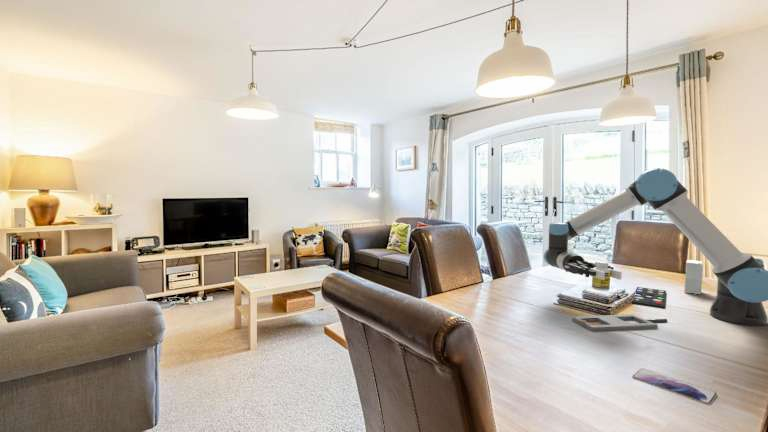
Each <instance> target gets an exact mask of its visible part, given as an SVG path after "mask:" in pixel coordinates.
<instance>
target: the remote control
mask: <svg viewBox="0 0 768 432" xmlns="http://www.w3.org/2000/svg"><path fill="white" fill-rule="evenodd" d="M635 292H636V295H635V298H634V300H633V301H632V300H631V301H632V303H631V304H632V305H633V304H634V305H637V306H638V305H639V306H646V307H651V308H659V309H665V308H666V298H667V297H666V296H667V291H666V290H665V289H655V288H648V287H641V286H637V287H636V288H635V291H634V293H635Z"/></svg>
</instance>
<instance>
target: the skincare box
mask: <svg viewBox="0 0 768 432" xmlns="http://www.w3.org/2000/svg"><path fill="white" fill-rule="evenodd" d="M685 263H686V264H685V280H684V290H683V291H684V292H685V294H689V293H694V294H693V295H696V294H702V283H703V265H704V264H703V261H701V260H695V259H686V262H685ZM684 292H683V293H684Z"/></svg>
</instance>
